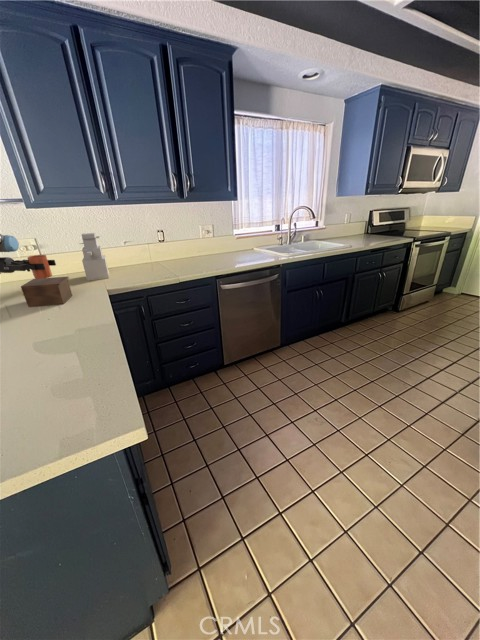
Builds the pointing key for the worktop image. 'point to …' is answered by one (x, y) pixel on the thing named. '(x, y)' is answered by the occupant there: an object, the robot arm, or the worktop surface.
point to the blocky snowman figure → (93, 258)
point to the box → (47, 295)
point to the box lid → (45, 282)
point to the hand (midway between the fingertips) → (49, 264)
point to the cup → (40, 260)
